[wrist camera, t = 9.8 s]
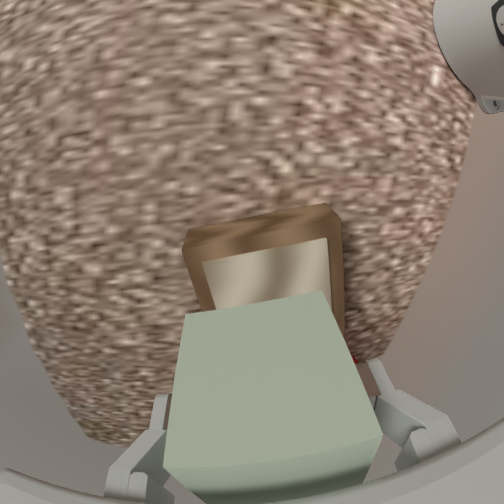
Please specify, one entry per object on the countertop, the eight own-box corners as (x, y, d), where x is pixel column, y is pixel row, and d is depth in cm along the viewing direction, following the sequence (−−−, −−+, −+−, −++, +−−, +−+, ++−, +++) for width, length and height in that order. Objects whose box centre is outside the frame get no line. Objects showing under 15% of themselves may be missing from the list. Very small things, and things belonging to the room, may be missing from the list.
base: (326, 202, 29) (342, 220, 25) (333, 312, 36) (345, 339, 31) (188, 229, 30) (180, 252, 25) (221, 334, 36) (220, 363, 32)
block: (321, 290, 11) (383, 434, 5) (324, 377, 13) (358, 491, 7) (185, 314, 11) (162, 467, 5) (218, 394, 13) (218, 512, 8)
